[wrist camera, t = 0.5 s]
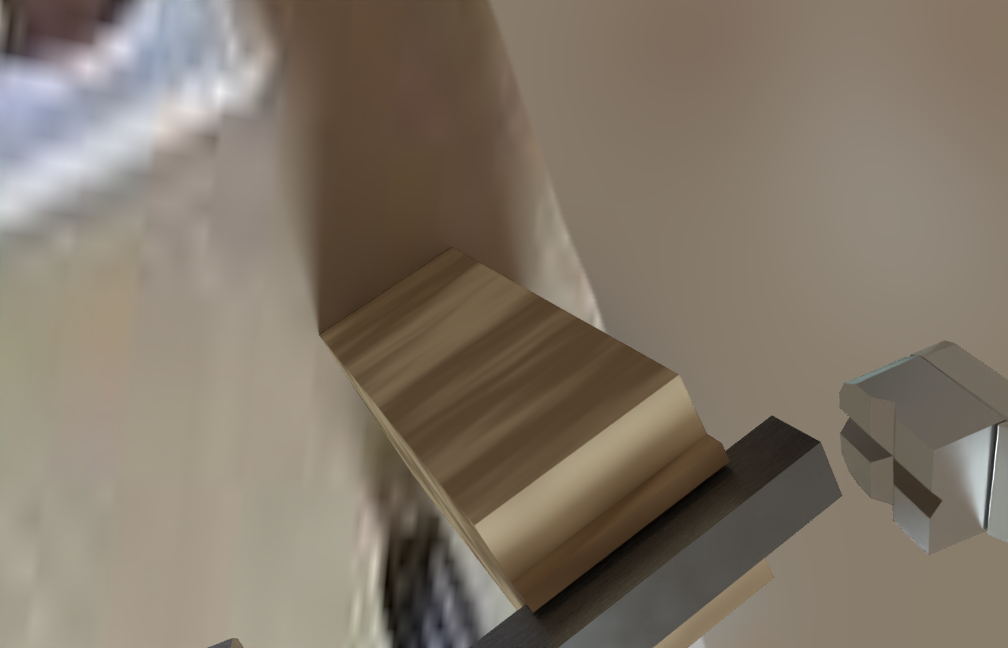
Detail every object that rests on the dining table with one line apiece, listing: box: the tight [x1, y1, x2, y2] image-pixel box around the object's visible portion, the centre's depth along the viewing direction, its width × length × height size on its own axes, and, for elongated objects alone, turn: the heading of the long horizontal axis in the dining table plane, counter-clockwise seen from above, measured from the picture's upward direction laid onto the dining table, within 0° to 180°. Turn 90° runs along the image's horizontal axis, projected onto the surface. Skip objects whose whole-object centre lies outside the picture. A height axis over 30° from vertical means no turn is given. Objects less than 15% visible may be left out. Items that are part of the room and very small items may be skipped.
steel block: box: [469, 416, 842, 648], centre depth 38 cm, size 3×21×3 cm, turn 118°
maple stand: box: [320, 247, 774, 648], centre depth 50 cm, size 12×10×27 cm
